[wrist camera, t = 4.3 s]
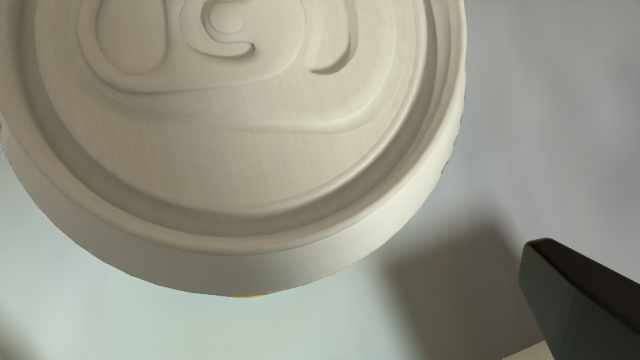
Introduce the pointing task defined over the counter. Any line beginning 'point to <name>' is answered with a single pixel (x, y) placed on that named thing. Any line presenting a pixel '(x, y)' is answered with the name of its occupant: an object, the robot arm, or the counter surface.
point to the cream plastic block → (533, 353)
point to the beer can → (230, 129)
